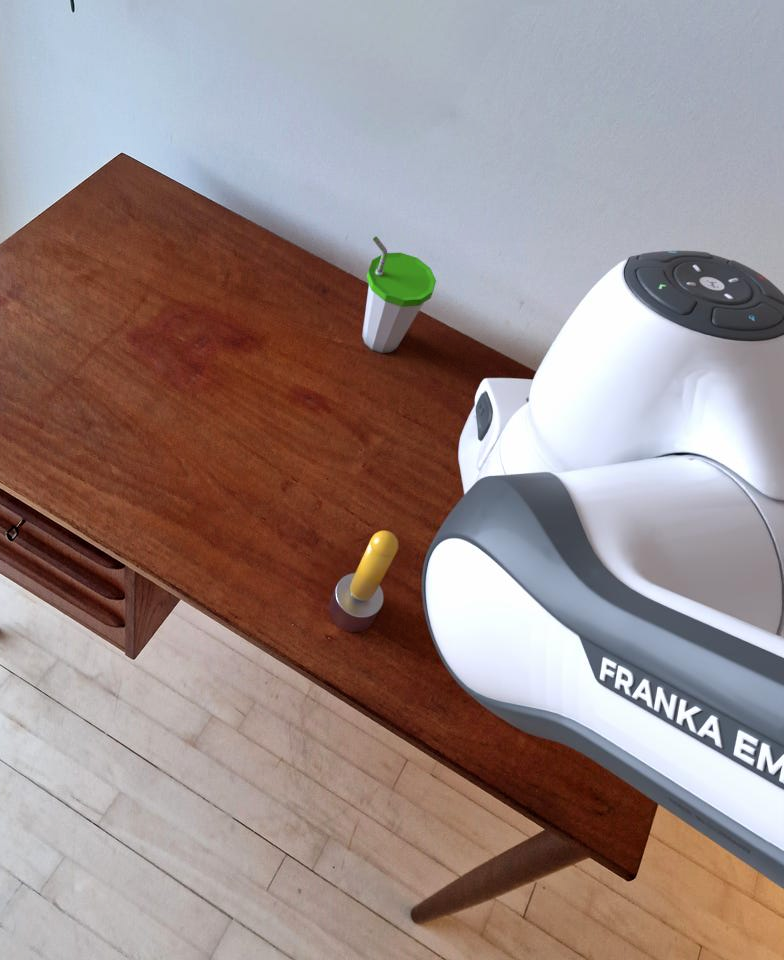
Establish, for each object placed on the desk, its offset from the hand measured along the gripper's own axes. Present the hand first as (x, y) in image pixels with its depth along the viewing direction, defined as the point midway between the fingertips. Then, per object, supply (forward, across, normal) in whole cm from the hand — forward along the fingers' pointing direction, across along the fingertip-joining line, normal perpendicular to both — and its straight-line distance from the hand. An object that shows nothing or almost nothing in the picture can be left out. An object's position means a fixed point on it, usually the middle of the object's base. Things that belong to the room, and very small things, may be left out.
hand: (477, 605), depth 58 cm
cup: (+22, +47, -2) cm, 52 cm away
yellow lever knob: (+22, +10, +4) cm, 25 cm away
